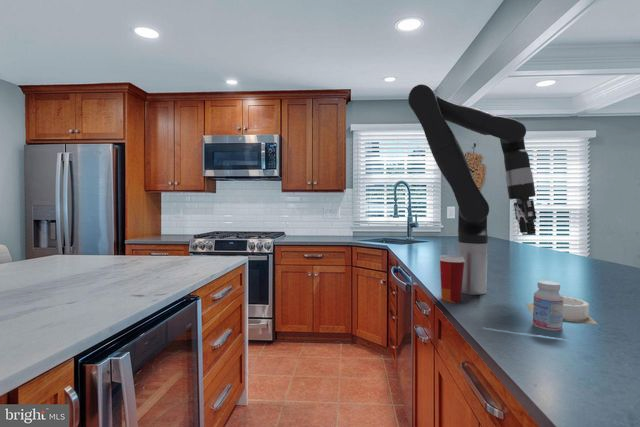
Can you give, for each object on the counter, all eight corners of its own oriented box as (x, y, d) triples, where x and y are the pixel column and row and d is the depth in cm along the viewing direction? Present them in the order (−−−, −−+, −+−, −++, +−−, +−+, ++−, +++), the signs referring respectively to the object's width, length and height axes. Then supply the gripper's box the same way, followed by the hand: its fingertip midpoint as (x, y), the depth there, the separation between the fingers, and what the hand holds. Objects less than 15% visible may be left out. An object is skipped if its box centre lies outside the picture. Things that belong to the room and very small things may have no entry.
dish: (543, 316, 93) (543, 303, 93) (535, 305, 103) (536, 293, 103) (593, 322, 89) (594, 308, 89) (580, 310, 99) (581, 297, 99)
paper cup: (464, 299, 111) (465, 255, 111) (463, 305, 104) (464, 258, 104) (439, 296, 114) (439, 253, 114) (436, 301, 107) (437, 256, 107)
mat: (533, 318, 93) (533, 316, 93) (525, 304, 106) (525, 302, 105) (597, 326, 87) (597, 324, 87) (581, 310, 100) (581, 308, 100)
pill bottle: (527, 323, 88) (528, 279, 88) (549, 323, 89) (551, 279, 88) (544, 332, 82) (545, 285, 82) (568, 332, 83) (570, 285, 82)
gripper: (502, 187, 120) (509, 233, 119) (512, 183, 106) (520, 236, 106) (527, 183, 118) (534, 231, 117) (540, 179, 104) (548, 233, 103)
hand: (527, 233), depth 111 cm, fingers open, 8 cm apart
